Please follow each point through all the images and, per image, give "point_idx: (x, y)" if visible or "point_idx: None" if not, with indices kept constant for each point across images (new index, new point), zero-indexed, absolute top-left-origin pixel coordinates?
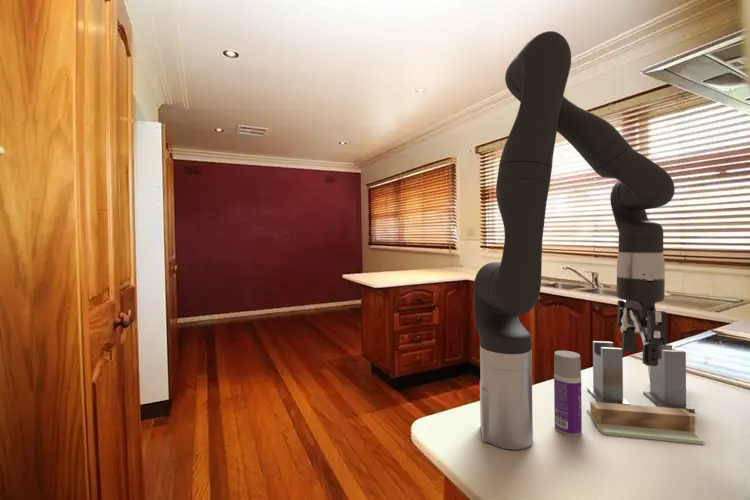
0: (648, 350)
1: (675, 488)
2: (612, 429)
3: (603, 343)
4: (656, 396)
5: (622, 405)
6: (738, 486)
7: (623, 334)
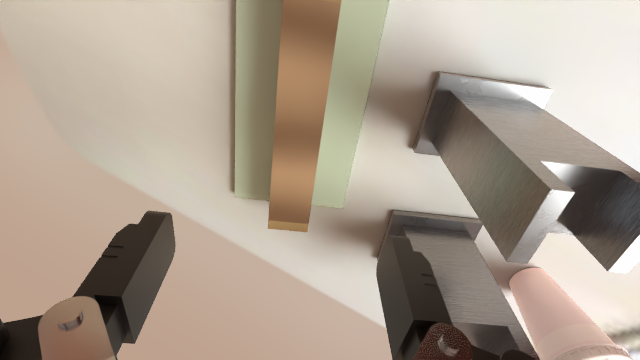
0: (93, 279)
1: (10, 19)
2: (253, 10)
3: (631, 235)
4: (440, 231)
5: (316, 91)
6: (85, 153)
7: (417, 314)
